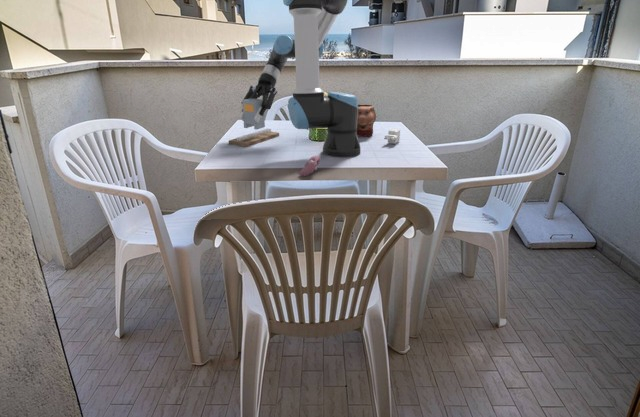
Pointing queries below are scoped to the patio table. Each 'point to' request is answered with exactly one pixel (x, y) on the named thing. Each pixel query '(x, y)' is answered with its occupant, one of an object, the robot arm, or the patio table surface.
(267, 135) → the board
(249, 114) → the module
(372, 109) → the decorative planter
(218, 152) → the patio table surface
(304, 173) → the pink mottled elongated lump
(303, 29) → the robot arm
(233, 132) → the patio table surface
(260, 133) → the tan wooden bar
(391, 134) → the power adapter
